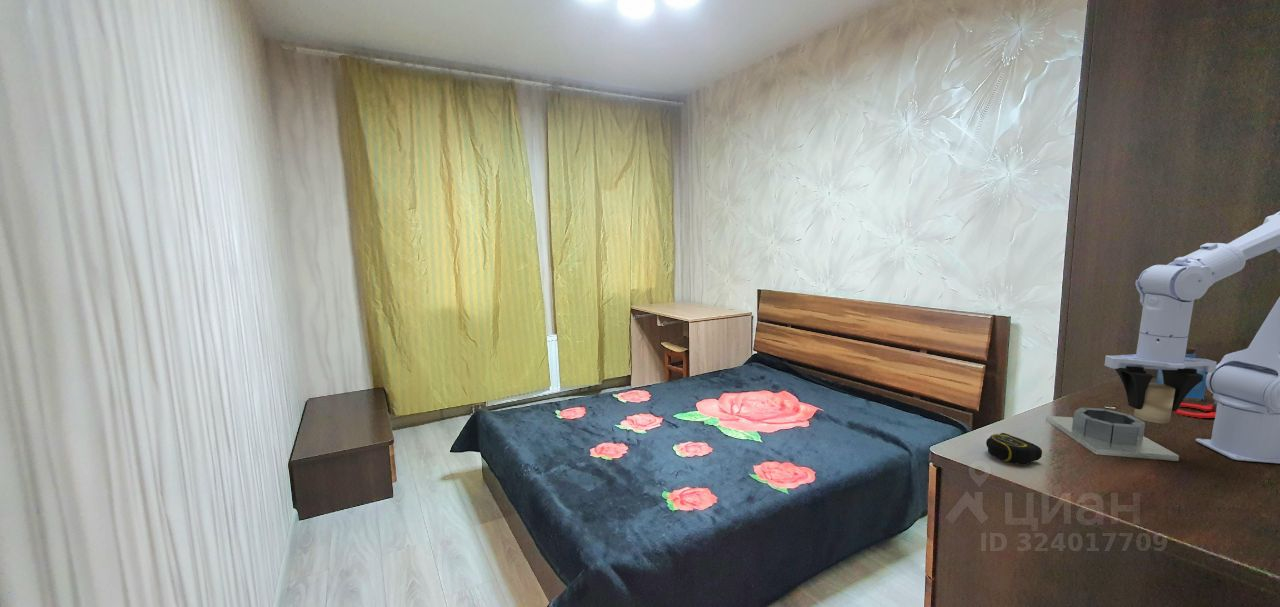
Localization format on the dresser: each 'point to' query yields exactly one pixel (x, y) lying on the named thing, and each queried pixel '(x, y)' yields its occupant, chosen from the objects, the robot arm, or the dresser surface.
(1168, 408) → the tan peg
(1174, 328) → the robot arm
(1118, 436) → the rosette socket
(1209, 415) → the tow hook
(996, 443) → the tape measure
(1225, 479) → the dresser surface
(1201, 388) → the perfume bottle
